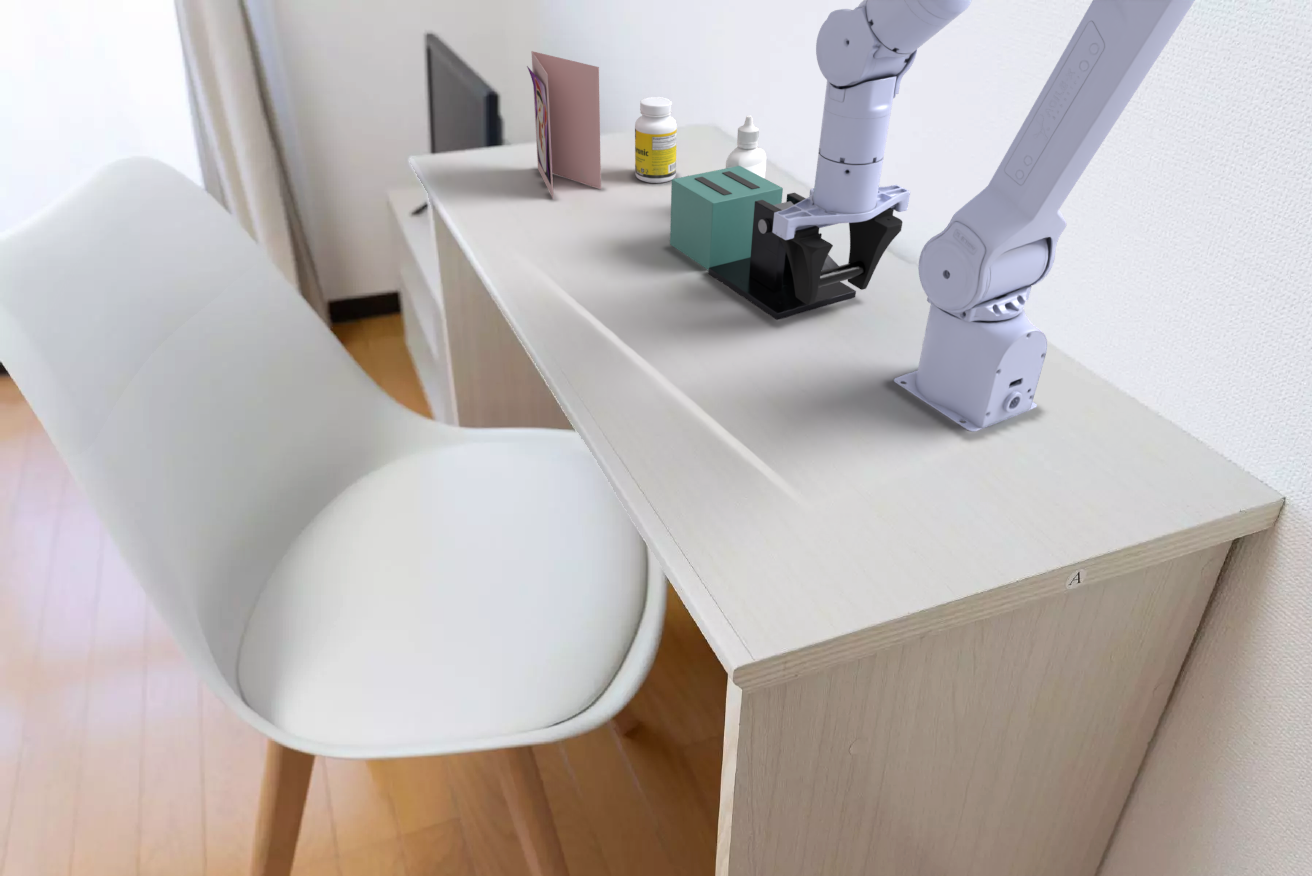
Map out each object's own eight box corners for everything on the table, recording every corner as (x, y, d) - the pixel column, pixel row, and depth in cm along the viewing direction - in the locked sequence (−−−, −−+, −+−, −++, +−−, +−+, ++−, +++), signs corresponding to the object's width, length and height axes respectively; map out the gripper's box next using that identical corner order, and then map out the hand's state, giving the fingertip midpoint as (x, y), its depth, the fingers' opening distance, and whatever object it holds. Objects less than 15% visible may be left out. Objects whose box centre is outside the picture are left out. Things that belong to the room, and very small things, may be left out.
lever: (860, 282, 94) (869, 263, 92) (812, 296, 91) (819, 276, 89) (799, 216, 99) (805, 197, 97) (751, 228, 96) (757, 208, 95)
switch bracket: (854, 301, 98) (867, 214, 93) (776, 324, 94) (784, 234, 89) (783, 258, 107) (791, 176, 101) (707, 277, 102) (712, 193, 97)
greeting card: (531, 169, 129) (524, 51, 120) (585, 164, 131) (582, 48, 122) (546, 199, 120) (539, 75, 111) (604, 194, 122) (602, 71, 113)
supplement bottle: (629, 171, 129) (629, 96, 123) (668, 168, 130) (670, 93, 125) (641, 185, 125) (641, 108, 119) (681, 181, 126) (683, 105, 120)
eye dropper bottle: (771, 221, 115) (780, 119, 109) (728, 226, 114) (734, 124, 107) (756, 208, 119) (763, 109, 112) (713, 213, 117) (719, 113, 110)
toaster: (776, 257, 107) (783, 186, 102) (709, 275, 103) (712, 202, 98) (735, 232, 112) (739, 164, 108) (669, 248, 108) (671, 178, 104)
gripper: (882, 129, 91) (861, 261, 99) (757, 153, 85) (746, 292, 93) (935, 151, 86) (909, 288, 94) (808, 178, 80) (791, 323, 88)
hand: (831, 292), depth 93 cm, fingers closed on lever, 6 cm apart
